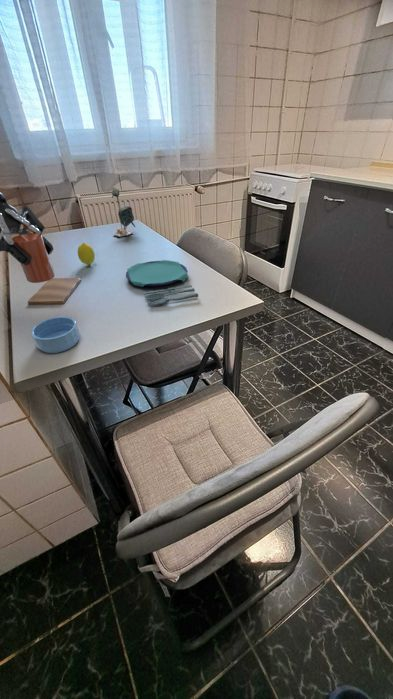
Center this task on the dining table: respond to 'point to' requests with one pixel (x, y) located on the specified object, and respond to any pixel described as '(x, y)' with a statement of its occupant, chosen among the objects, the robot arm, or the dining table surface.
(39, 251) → the terracotta cylindrical canister
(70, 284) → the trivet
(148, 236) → the dining table surface
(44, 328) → the bowl
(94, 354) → the dining table surface
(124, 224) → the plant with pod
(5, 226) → the robot arm
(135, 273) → the cutlery set
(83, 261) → the lemon
